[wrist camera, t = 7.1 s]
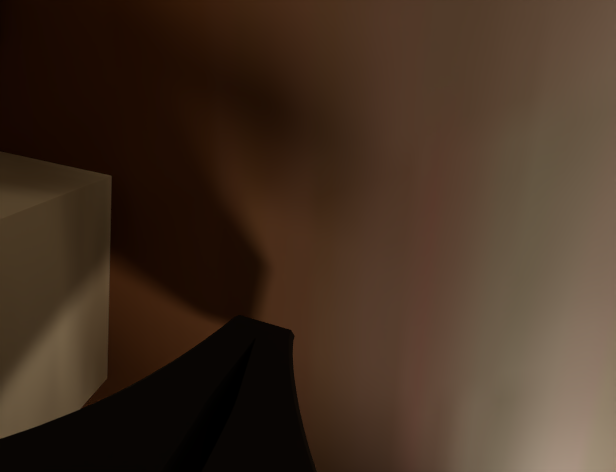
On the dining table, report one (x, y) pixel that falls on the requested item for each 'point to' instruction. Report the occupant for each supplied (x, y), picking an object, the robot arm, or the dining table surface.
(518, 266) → the dining table surface
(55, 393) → the maple block
